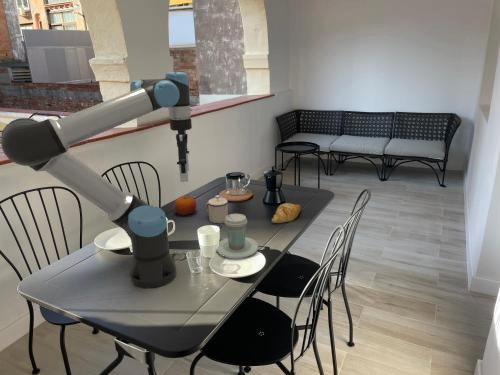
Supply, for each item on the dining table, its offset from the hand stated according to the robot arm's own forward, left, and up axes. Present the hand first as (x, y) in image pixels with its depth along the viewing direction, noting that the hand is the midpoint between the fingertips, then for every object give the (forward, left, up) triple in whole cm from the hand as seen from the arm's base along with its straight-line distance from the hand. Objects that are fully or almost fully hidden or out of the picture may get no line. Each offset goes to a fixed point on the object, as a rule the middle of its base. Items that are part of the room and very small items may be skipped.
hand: (185, 176), depth 136 cm
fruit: (-2, +34, -29) cm, 45 cm away
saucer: (+18, -7, -29) cm, 34 cm away
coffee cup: (+18, -8, -27) cm, 33 cm away
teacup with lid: (+12, +24, -29) cm, 39 cm away
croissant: (+44, +20, -29) cm, 56 cm away
